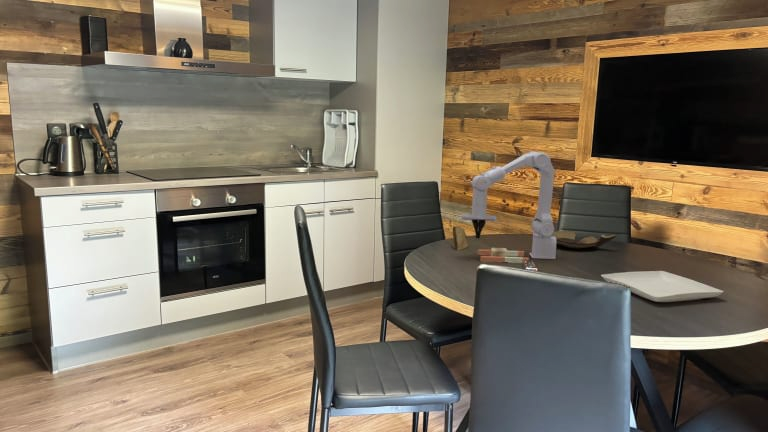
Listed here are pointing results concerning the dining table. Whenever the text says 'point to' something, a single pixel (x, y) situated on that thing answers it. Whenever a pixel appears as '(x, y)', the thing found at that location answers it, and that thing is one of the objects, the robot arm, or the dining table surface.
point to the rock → (459, 238)
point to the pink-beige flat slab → (503, 259)
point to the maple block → (499, 252)
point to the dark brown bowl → (569, 238)
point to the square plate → (662, 286)
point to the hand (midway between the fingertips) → (477, 237)
